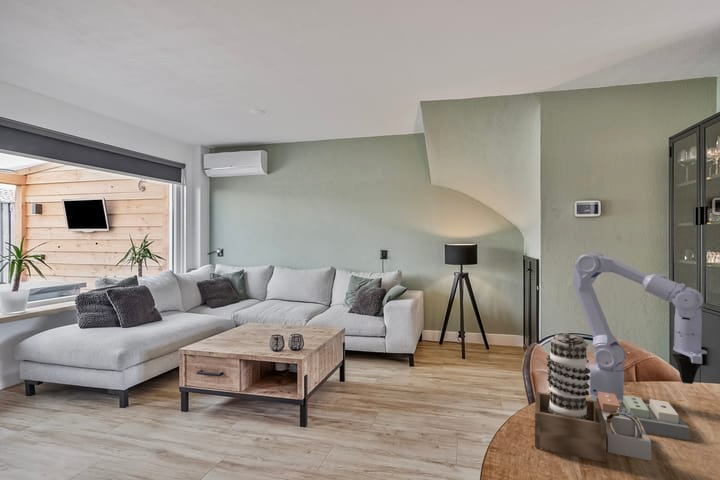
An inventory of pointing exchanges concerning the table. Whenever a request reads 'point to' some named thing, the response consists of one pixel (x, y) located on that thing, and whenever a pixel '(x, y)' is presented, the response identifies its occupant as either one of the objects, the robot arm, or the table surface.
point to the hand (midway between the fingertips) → (687, 382)
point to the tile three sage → (636, 406)
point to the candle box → (570, 431)
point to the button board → (658, 424)
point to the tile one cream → (663, 411)
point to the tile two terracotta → (608, 402)
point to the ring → (627, 414)
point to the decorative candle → (568, 376)
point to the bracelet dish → (627, 439)
